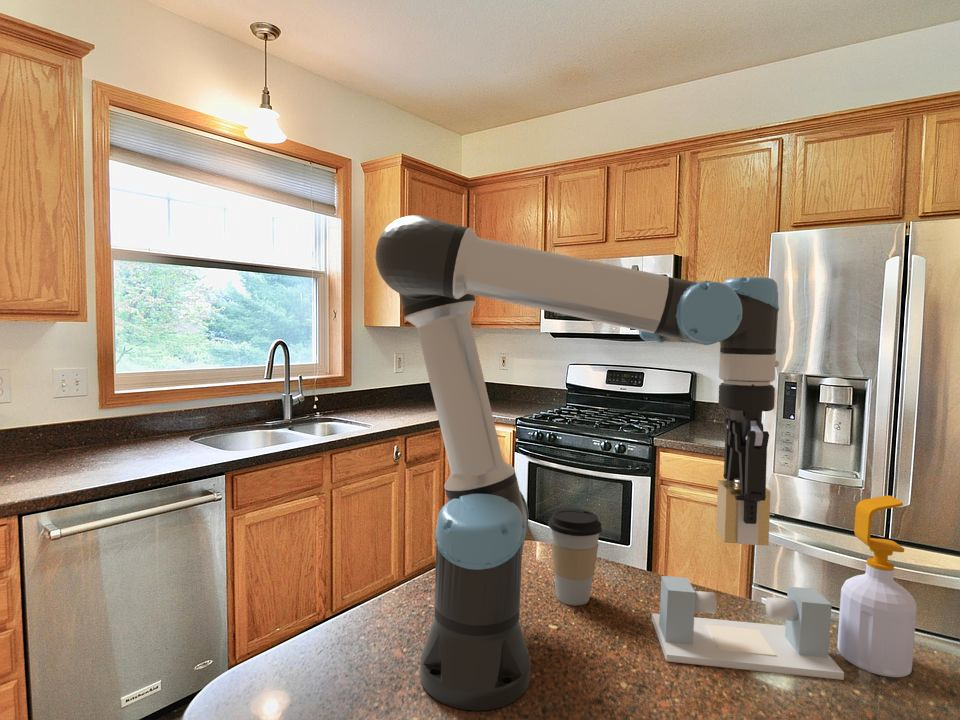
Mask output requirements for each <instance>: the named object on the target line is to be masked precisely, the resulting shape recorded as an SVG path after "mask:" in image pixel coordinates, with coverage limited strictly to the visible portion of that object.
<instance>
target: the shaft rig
mask: <svg viewBox="0 0 960 720" xmlns="http://www.w3.org/2000/svg"><path fill="white" fill-rule="evenodd" d="M660 583H661V584H660V597H659V598H660V599H659V613H654V612H652V613H651V621H652V623H653V626H654V629H655V633H656V636H657V638H658V640H659V641H658V642H659V644H660V646H661V650H662V653H663V655H664V656H663V657H664V658H665V659H664V660H665V661H666V662H669V663H678V664H690V665H698V666H708V667H716V668H717V667H718V668H728V669H736V670H744V671H745V670H748V671H754V672H755V671H756V672H764V673H765V672H766V673H773V674H784V675H792V676H804V677H805V676H806V677H814V678H824V679H831V680H842V681H843V680H845V672H844V671H843V670H842V668H841V667H840V666H839V665H838V664H837V662H836V661H835V660H834V659H833V658H832V657H831V656H830V654H829V650H830V649H829V647H830V633H831V619H832V604H831V603H830V601H828V600H827V599H826V598H825V597H824V596H823V595H822V593H820V592H819V591H818V590H817V589H816V588H811V587H810V588H809V587H798V586H797V587H796V586H787V593H786V594H787V597H786V598H781V597H769V596H768V597H766V598H765V611H766V616H767V617H768V618H769V619H770V620H779V621H785V625H780V624H769V623H757V622H749V621H748V622H747V621H739V620H726V619H717V618H716V619H715V618H706V617H695V613H701V614H702V613H703V614H704V613H705V614H713V615H714V614H717V611H718V600H717V595H716V593H715V592H713V591H703V590H702V591H699V590H695V588H694V587H693V585H692V584H691V582H690V580H689V578H688V577H679V576H678V577H677V576H667V575H661V579H660Z"/></svg>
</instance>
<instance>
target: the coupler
mask: <svg viewBox="0 0 960 720" xmlns="http://www.w3.org/2000/svg"><path fill="white" fill-rule="evenodd" d="M735 496H740V478H735V479H734V481H727V479H724V480H723V479H721V480H720V479H718V480H717V498H716V499H717V502H716V505H717V506H716V528H715V529H716V532H717V534H718V536H719V538H721V539H722V541H723V542H724V543H727V544H738V543H737V542H736V540H737V511H738V500H736V499H735ZM770 510H771V491H770V490H769V489H768V488H767V487H766V498H765V501H760V502H759V524H758V545H757V546H766V547H767V546H769V540H770V534H769V533H770V518H771V517H770V513H771V512H770Z"/></svg>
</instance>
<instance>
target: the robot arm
mask: <svg viewBox="0 0 960 720" xmlns="http://www.w3.org/2000/svg"><path fill="white" fill-rule="evenodd" d="M374 256H375V257H374V258H375V264H376V267H377V269H378V274H379V275H380V277H381V278H382V280H383V281H384V282H385V284H386V285H388V287H389V288H390V289H392V290H393V291H395V292H396V293H398V295H399V299H400V303H401V308H402V312H403V315H404V321H405V320H406V321H407V322H408V323H410V324H411V325H413V326H414V327H415V328H416V329H417V334H418V337H419V343H420V345H421V346H420V347H421V351H422V354H423V355H422V356H423V360H424V363H425V368H426V372H427V377H428V380H429V384H430V389H431V390H430V391H431V393H432V394H431V395H432V397H433V401H434V406H435V410H436V414H437V418H438V423H439V426H440V427H439V428H440V432H441V436H442V440H443V445H444V448H445V453H446V457H447V461H448V466H449V471H450V474H449V476H448V478H447V480H446V481H445V483H444V490H445V495H446V499H447V502H446V503H445V504H444V505H443V506H442V507H441V509H440V511H439V513H438V516H437V522H436V526H435V530H434V536H435V537H434V538H435V543H436V544H435V574H434V576H435V579H434V580H435V581H434V613H433V614H434V615H433V616H434V617H433V620H432V624H431V626H430V629H429V631H428V635H427V637H426V641H425V643H424V646H423V649H422V650H421V651H422V652H421V654H420V655H421V656H420V659H419V679H420V682H421V685H422V687H423V688H424V690H425V691H426V692H427V694H428V695H430V697H432V698H433V699H435V700H436V701H438V702H440V703H441V704H444V705H446V706H448V707H451V708H455V709H458V710H459V709H460V710H465V711H488V710H489V711H490V710H495V709H498V708H502V707H505V706H508V705H510V704H512V703H514V702H515V701H516V700H518V699H520V698H521V697H522V696H523V695H524V694H525V692H526V691H527V690H528V688H529V685H530V683H531V668H532V667H531V658H530V653H529V649H528V645H527V643H526V640H525V635H524V632H523V629H522V625H521V621H520V609H521V586H522V585H521V584H522V583H521V582H522V562H523V553H524V545H525V540H526V535H527V534H526V533H527V530H528V527H529V526H528V525H529V520H530V519H529V516H530V515H529V508H528V503H527V501H526V499H525V497H524V494H523V493H522V492H521V490H520V486H519V481H518V478H517V474H516V470H515V467H514V466H513V465H511V464H509V463H507V462H506V461H505V460H504V459H503V455H502V449H501V446H500V441H499V439H498V433H497V428H496V424H495V421H494V417H493V412H492V407H491V404H490V399H489V395H488V392H487V391H488V390H487V386H486V382H485V378H484V373H483V369H482V365H481V361H480V356H479V352H478V347H477V342H476V339H475V336H474V331H473V327H472V323H471V318H470V317H471V316H470V315H471V312H472V311H473V309H474V307H475V306H476V305H477V303H476V296H477V297H481V298H486V299H491V300H495V301H499V302H504V303H509V304H512V305H513V304H514V305H518V306H519V305H520V306H523V307H528V308H533V309H538V310H543V311H547V312H551V313H556V314H561V315H566V316H569V317H575V318H578V319H579V318H580V319H584V320H589V321H594V322H597V323H598V322H599V323H604V324H607V325H611V326H612V325H613V326H618V327H621V328H626V329H631V330H636V331H638V333H639V337H640V339H642V340H643V341H645V342H658V343H662V344H663V343H670V342H671V343H690V344H691V343H692V344H699V345H704V346H709V345H713V344H716V343H719V344H720V346H719V347H720V348H719V363H718V365H719V366H718V367H719V368H718V378H719V379H720V380H722V382H720V384H719V385H718V401H717V403H718V406H719V407H720V408H722V409H725V410H729V411H730V410H731V412H730V413H731V414H730V417H725V418H724V421H723V422H724V429H725V430H724V431H725V433H724V435H725V437H724V459H723V460H724V461H723V478H724V480H726V481H734V479H735V478H740V496H735V499H736V500H738V511H737V540H736V542H737V543H736V544H738V545H748V546H749V545H750V546H751V545H752V546H759V545H758V524H759V502H760V501H765V498H766V488H767V459H768V458H767V457H768V456H767V455H768V445H769V440H770V433H769V432H768V431H764V424H763V423H762V419H761V413H763V412H771V411H773V410H774V409H775V401H776V400H775V399H776V398H775V397H776V388H775V387H774V385H773V384H771V382H774V381H775V380H776V368H778V367H779V365H780V362H779V361H778V360H776V359H777V339H778V338H777V336H778V335H777V334H778V319H779V318H778V316H779V311H780V307H779V290H778V284H777V282H776V281H775V279H773V278H772V277H771V278H770V277H767V276H766V277H764V276H749V277H747V276H746V277H741V276H740V277H731V278H726V279H725V280H724V281H723V282H718V281H712V280H704V281H703V280H702V281H698V282H697V281H691V280H688V279H683V278H677V277H671V276H670V277H669V276H667V275H663V274H658V273H655V272H654V273H653V272H648V271H645V270H643V271H642V270H638V269H634V268H630V267H629V268H628V267H623V266H619V265H615V264H610V263H605V262H604V263H603V262H598V261H596V260H595V261H594V260H590V259H585V258H581V257H580V258H579V257H574V256H570V255H565V254H561V253H555V252H550V251H546V250H540V249H535V248H530V247H525V246H520V245H515V244H511V243H507V242H502V241H497V240H491V239H488V238H487V239H486V238H481V237H479V236H478V235H477V233H476V232H475V230H474V229H473V228H471V227H468V226H467V227H466V226H463V225H458V224H454V223H450V222H446V221H442V220H438V219H435V218H433V217H429V216H425V215H421V214H411V215H410V214H409V215H406V216H403V217H400V218H398V219H395V220H394V221H393V222H391V223H390V224H388V226H386V228H385V229H383V231H382V233H381V234H380V237H379V238H378V240H377V244H376V247H375V255H374Z"/></svg>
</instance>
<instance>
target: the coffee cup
mask: <svg viewBox="0 0 960 720" xmlns="http://www.w3.org/2000/svg"><path fill="white" fill-rule="evenodd" d="M547 526H548V527H549V528H550V530H551V554H552V567H553V568H552V570H553V573H554V575H553V576H554V586H555V587H554V588H555V590H554V591H555V597H556V599H557V601H559V602H561V603H562V604H565V605H568V606H576V607H577V606H582V605H585V604H588V602H589V601H590V597H591V591H592V583H593V577H594V575H595V570H596V569H595V568H596V564H597V557H598V556H597V555H598V550H599V537H600V533H601V532H602V531H603V527H602V523H601V521H599V518H598V515H597V514H595V513H594V512H592V511H589V510H585V509H582V508H581V509H580V508H568V507H567V508H561V509H560V508H559V509H557V510H555V511H553V513H552V516H551V517H550V518H549V520H548V523H547Z"/></svg>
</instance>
